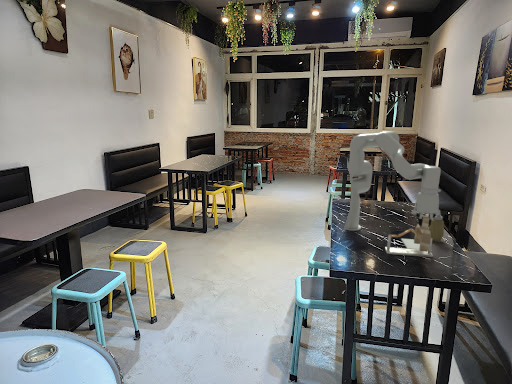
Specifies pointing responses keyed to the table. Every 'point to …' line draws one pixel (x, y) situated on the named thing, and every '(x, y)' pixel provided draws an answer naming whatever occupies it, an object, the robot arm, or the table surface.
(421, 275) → the table surface
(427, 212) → the robot arm
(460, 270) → the table surface
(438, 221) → the squeeze bottle
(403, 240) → the pad
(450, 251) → the table surface
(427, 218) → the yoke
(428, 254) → the wire
